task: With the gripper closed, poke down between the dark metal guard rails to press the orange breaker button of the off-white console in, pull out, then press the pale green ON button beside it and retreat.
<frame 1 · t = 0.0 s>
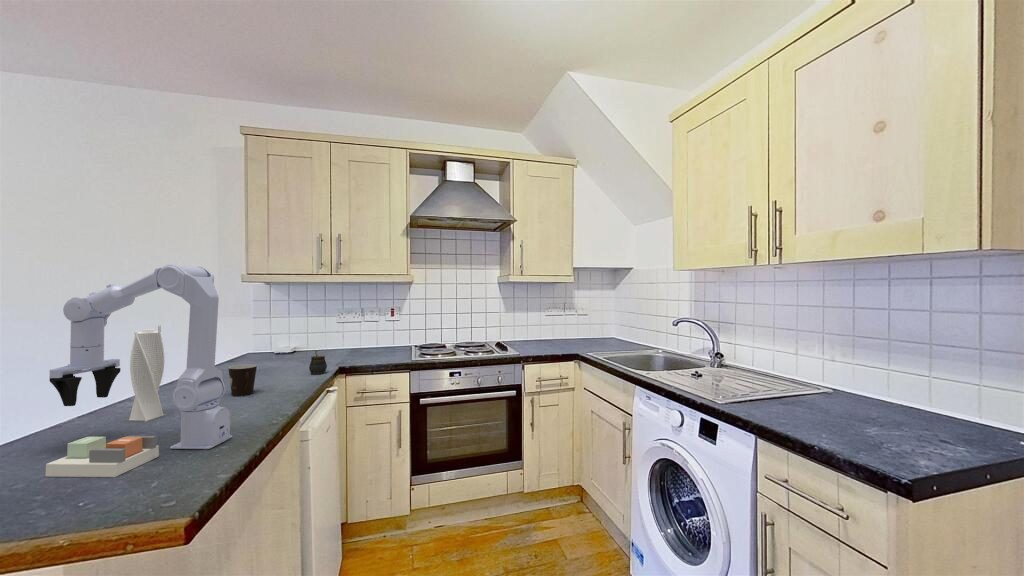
hand: (86, 401, 99), 10 cm above the table, tool pointing down, fingers open, 7 cm apart
console: (105, 465, 86), on the table
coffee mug: (241, 395, 144), on the table
breaker button: (124, 448, 86), point 4 cm above the table, slide at 0.0 cm
mate gourd: (317, 374, 182), on the table
skyscraper: (147, 419, 118), on the table
on button: (87, 447, 86), point 4 cm above the table, slide at 0.0 cm
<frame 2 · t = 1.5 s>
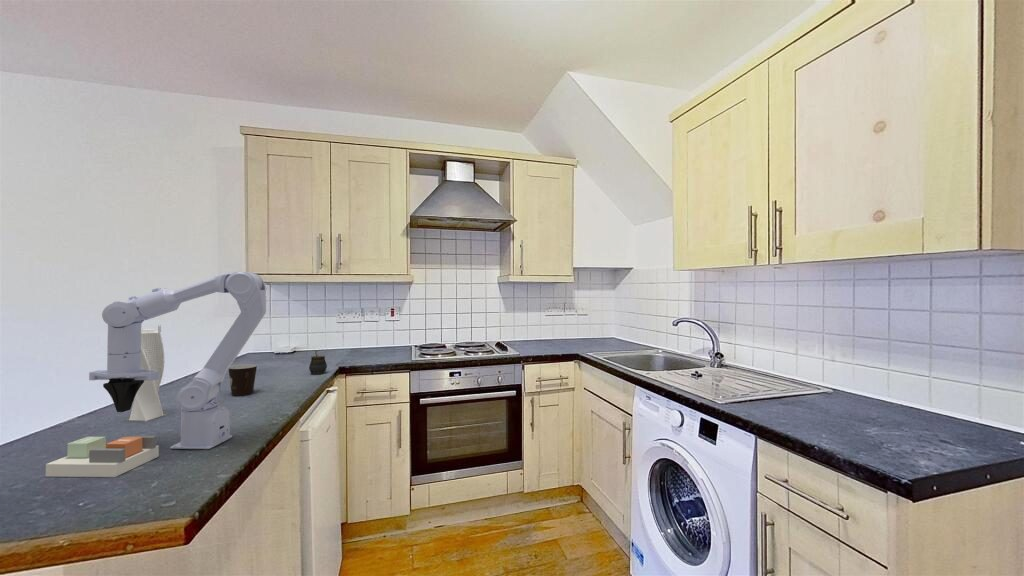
hand: (123, 410, 94), 9 cm above the table, tool pointing down, fingers closed
nothing on the table moved.
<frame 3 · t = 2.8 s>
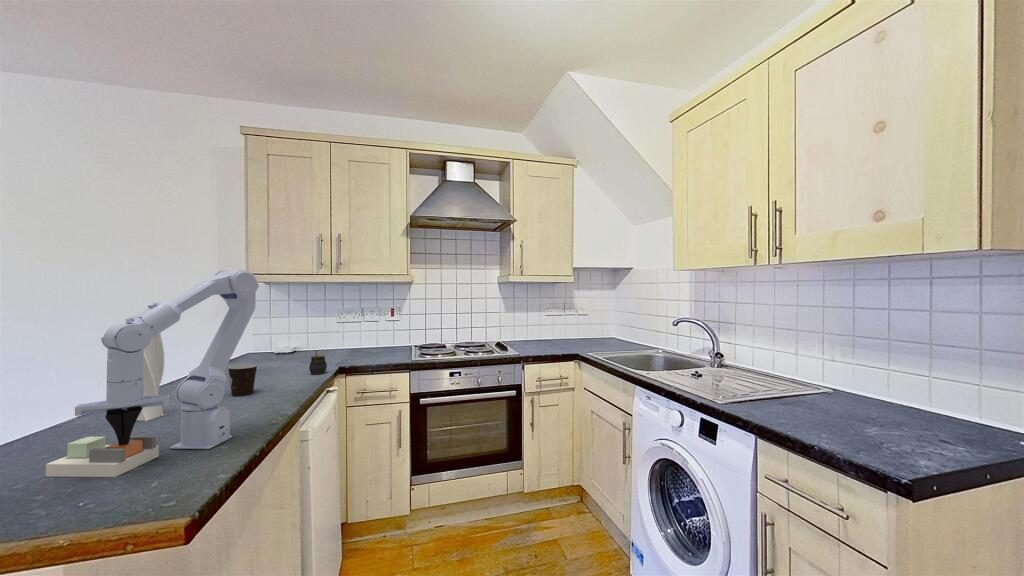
hand: (124, 443, 86), 5 cm above the table, tool pointing down, fingers closed, pressing on breaker button
breaker button: (124, 451, 86), point 3 cm above the table, slide at 0.7 cm, touching gripper
everything else where it was.
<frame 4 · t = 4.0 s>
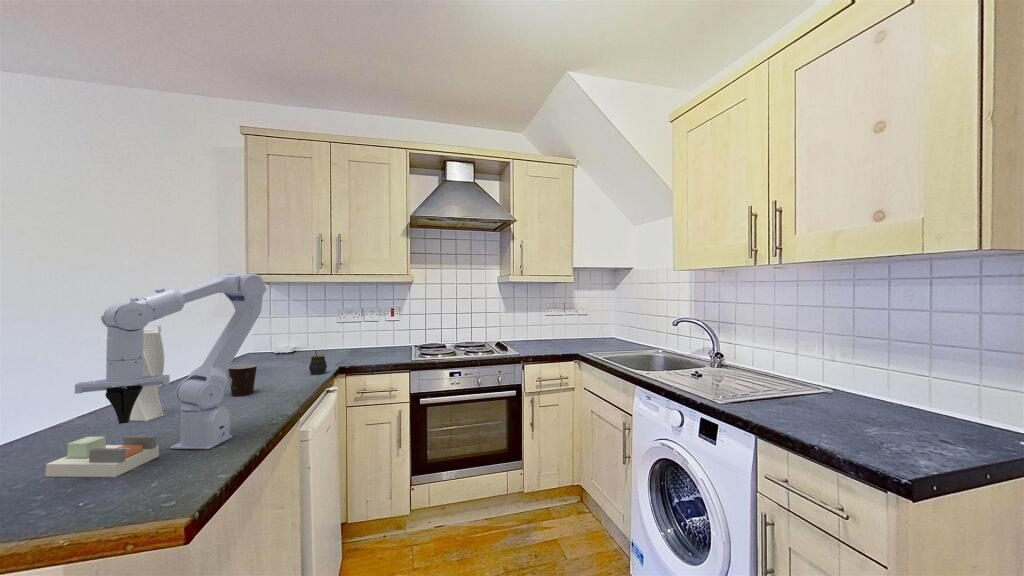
hand: (124, 422, 86), 9 cm above the table, tool pointing down, fingers closed
breaker button: (124, 456, 86), point 2 cm above the table, slide at 1.8 cm
everything else where it was.
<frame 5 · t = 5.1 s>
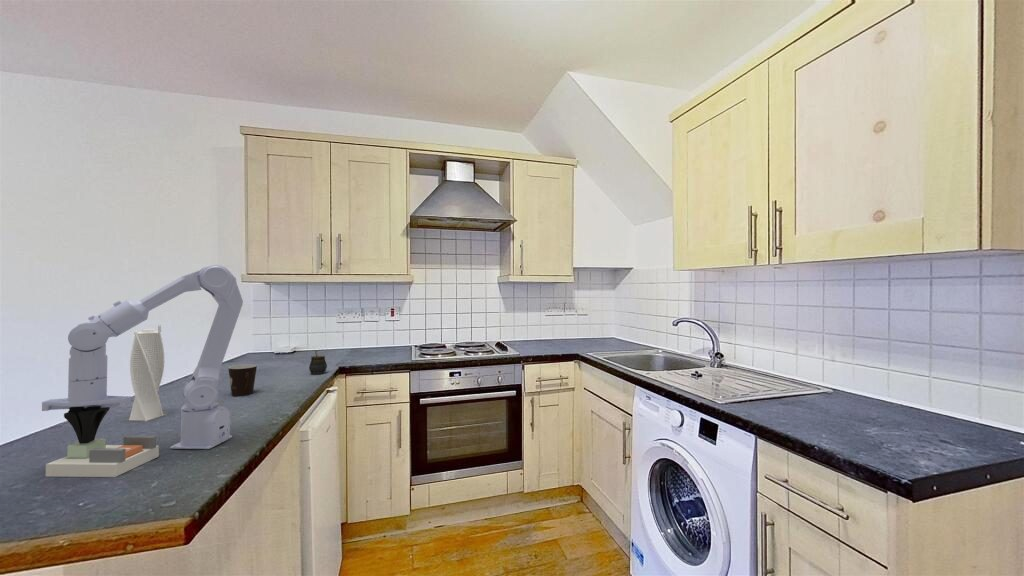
hand: (86, 441, 86), 5 cm above the table, tool pointing down, fingers closed, pressing on on button
on button: (87, 449, 86), point 3 cm above the table, slide at 0.4 cm, touching gripper
everything else where it was.
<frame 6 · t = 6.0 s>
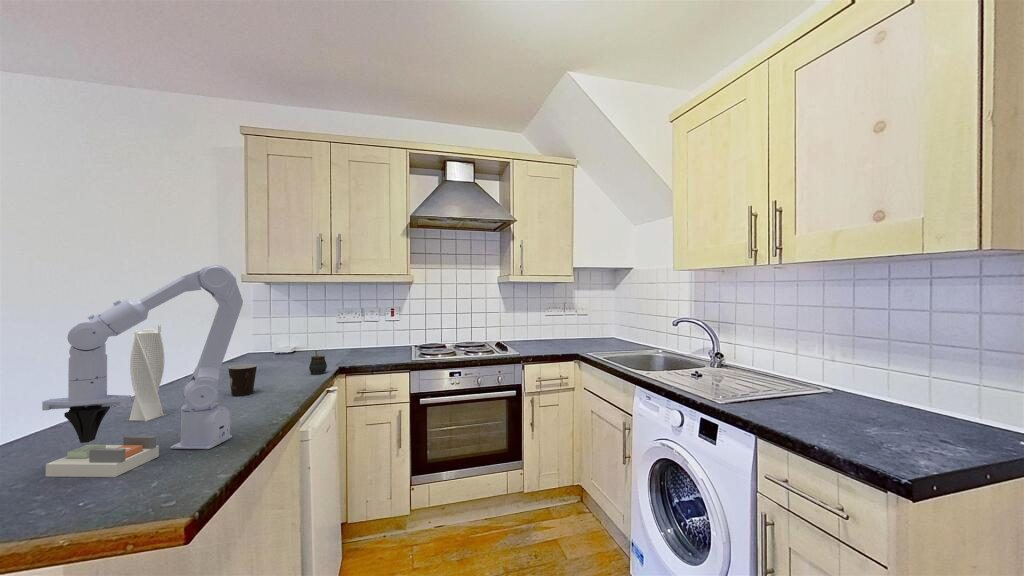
hand: (87, 441, 86), 5 cm above the table, tool pointing down, fingers closed
on button: (86, 455, 86), point 2 cm above the table, slide at 1.8 cm
everything else where it was.
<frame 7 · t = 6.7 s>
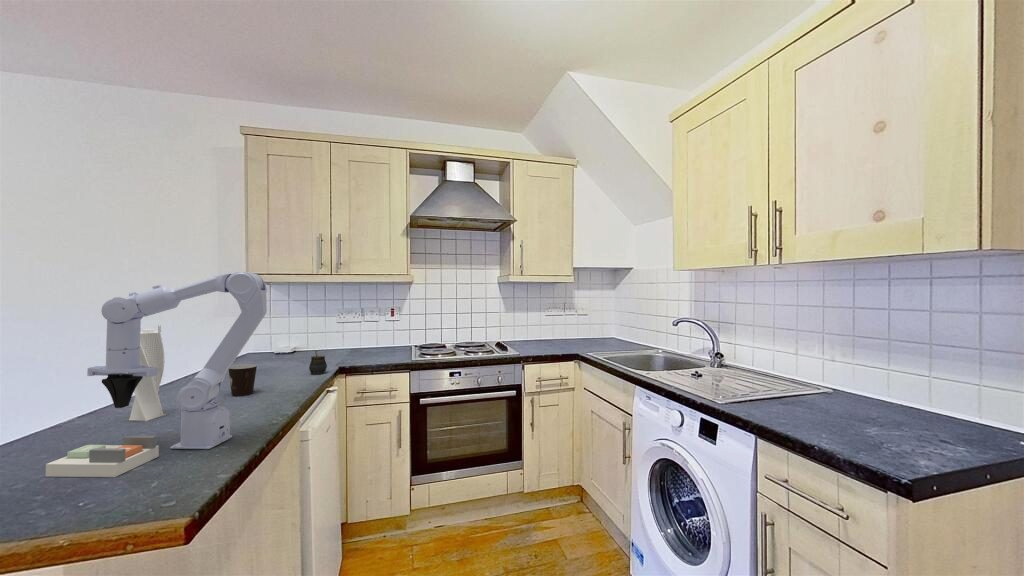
hand: (121, 406, 94), 10 cm above the table, tool pointing down, fingers closed
nothing on the table moved.
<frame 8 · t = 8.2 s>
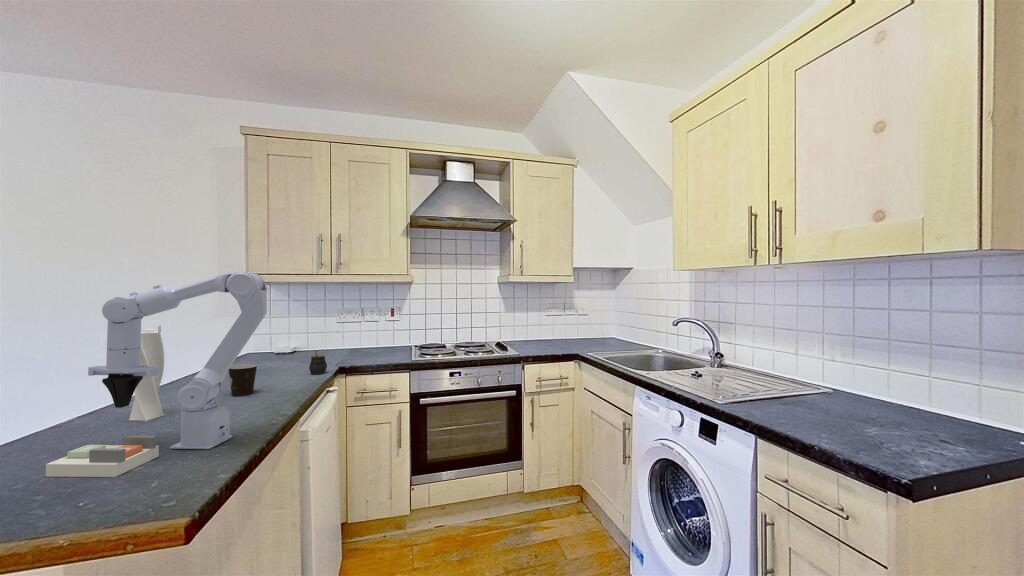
hand: (122, 406, 94), 10 cm above the table, tool pointing down, fingers closed
nothing on the table moved.
at the end: breaker button slide at 1.8 cm; on button slide at 1.8 cm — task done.
